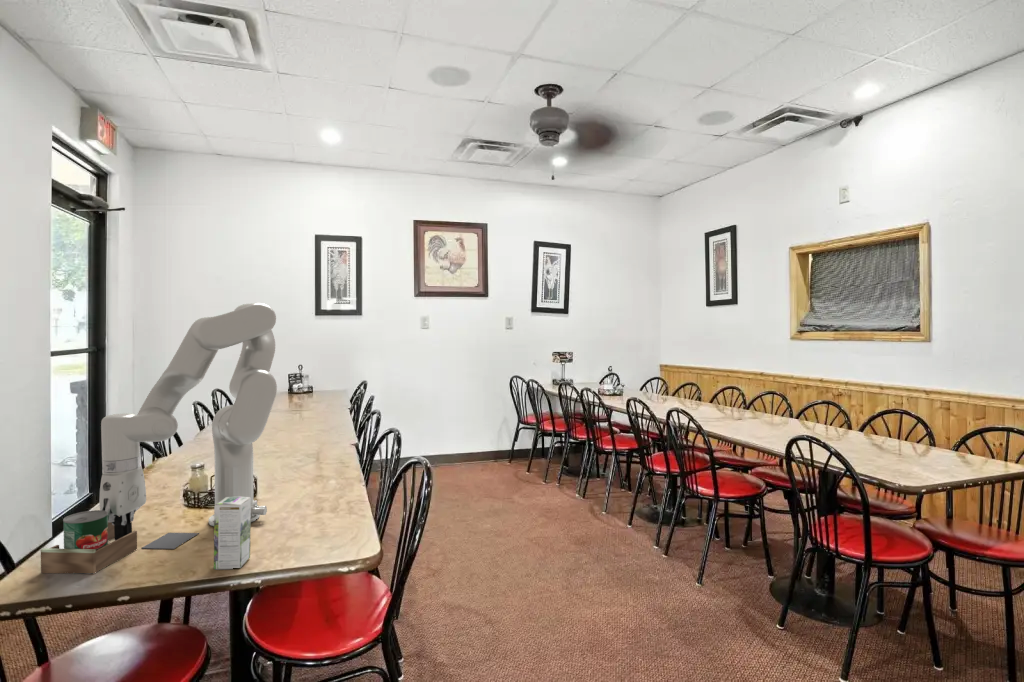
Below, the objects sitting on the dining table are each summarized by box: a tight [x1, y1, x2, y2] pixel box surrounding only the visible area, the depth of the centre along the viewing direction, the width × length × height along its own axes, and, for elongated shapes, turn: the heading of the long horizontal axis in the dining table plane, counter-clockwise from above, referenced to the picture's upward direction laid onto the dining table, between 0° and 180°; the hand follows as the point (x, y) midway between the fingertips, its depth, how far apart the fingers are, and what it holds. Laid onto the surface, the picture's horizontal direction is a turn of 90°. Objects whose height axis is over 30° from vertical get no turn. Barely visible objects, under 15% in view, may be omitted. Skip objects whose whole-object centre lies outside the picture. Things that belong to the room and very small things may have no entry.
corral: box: [40, 516, 138, 574], centre depth 130 cm, size 12×24×5 cm, turn 178°
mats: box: [141, 532, 200, 550], centre depth 132 cm, size 24×18×1 cm
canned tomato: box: [62, 509, 109, 550], centre depth 122 cm, size 8×8×11 cm
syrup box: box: [213, 496, 252, 570], centre depth 123 cm, size 6×6×14 cm
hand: (123, 539), depth 134 cm, fingers closed
